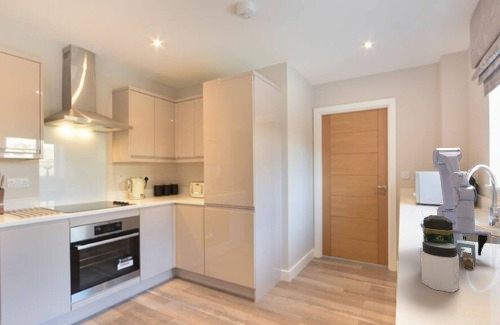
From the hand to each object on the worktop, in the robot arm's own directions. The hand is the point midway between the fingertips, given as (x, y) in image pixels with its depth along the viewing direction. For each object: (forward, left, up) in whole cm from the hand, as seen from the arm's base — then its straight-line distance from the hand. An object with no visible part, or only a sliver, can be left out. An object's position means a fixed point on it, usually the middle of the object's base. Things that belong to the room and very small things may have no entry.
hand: (466, 253), depth 100 cm
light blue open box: (0, 0, -2) cm, 2 cm away
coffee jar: (+26, -8, -2) cm, 28 cm away
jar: (+38, -8, -2) cm, 38 cm away
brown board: (+10, 0, -1) cm, 10 cm away
